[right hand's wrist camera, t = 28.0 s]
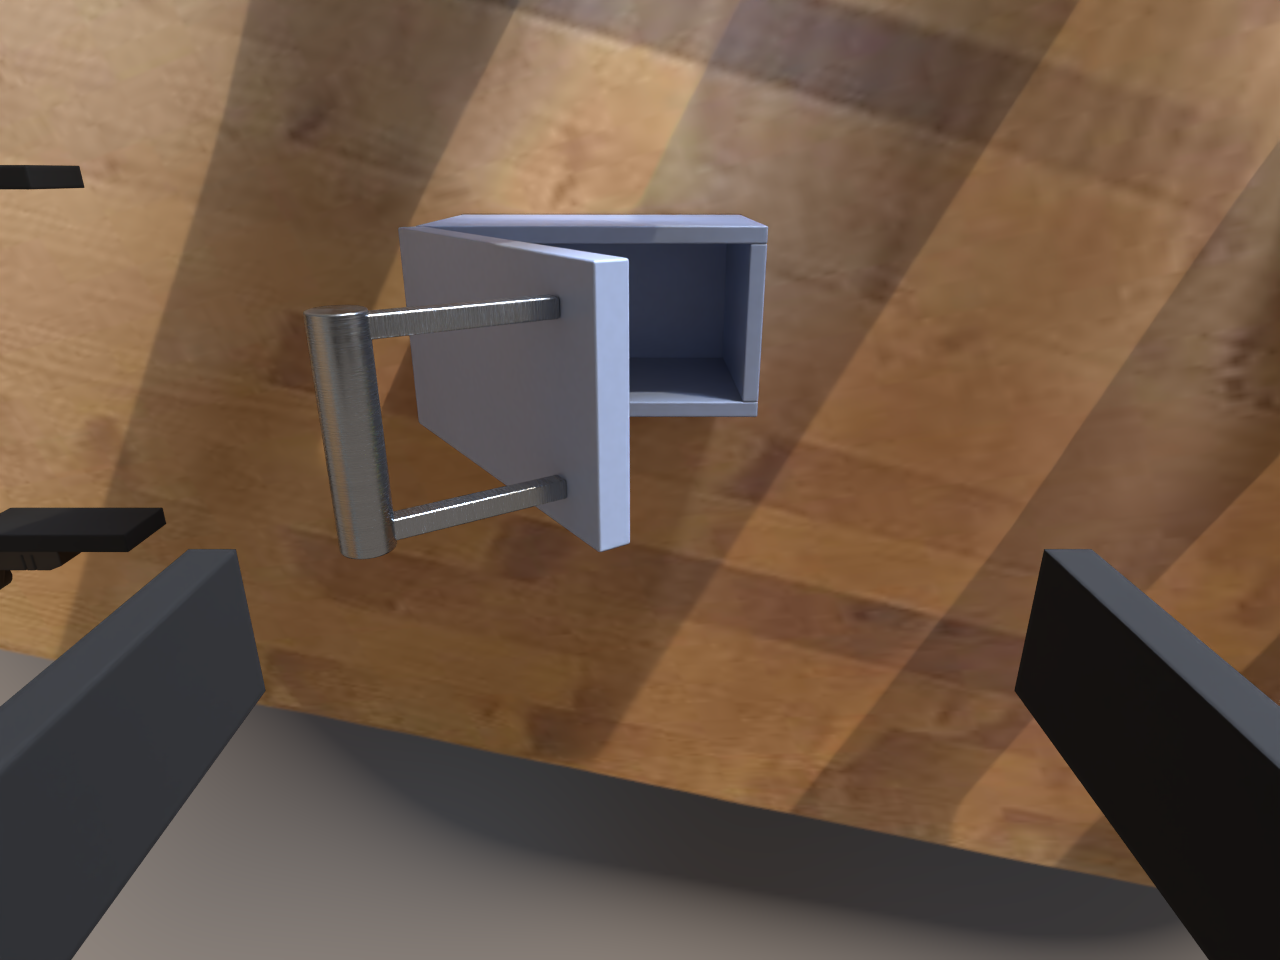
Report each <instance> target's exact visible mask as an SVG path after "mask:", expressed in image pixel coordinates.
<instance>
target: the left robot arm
mask: <svg viewBox="0 0 1280 960" xmlns="http://www.w3.org/2000/svg"><path fill="white" fill-rule="evenodd" d="M59 188H84V184H83V180H82V176H81V171H80V167H79V166H49V165H0V189H59ZM165 524H166V521H165V517H164V512H163V508H9V509H8V510H6V511H4V512H2V513H0V589H2V588H3V587H5V586H6V585H8V584H9V583H11V581H12V573H11V571H10V570H52V569H55V568H57V567H60V566H62V565H63V564H65V563H66V562H68V561H69V560H71V559H72V558H74V557H75V556H76V555H78V554H79V553H81V552H129V551H130V550H132V549H133V548H134V547H136V546H137V545H138V544H140V543H141V542H142V541H144V540H145V539H146V538H148V537H149V536H150V535H152V534H153V533H154V532H156V531H157V530H159V529H160V528H161V527H163V526H164V525H165Z"/></svg>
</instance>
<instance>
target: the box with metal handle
mask: <svg viewBox="0 0 1280 960" xmlns="http://www.w3.org/2000/svg"><path fill="white" fill-rule="evenodd" d="M398 232H399V241H400V250H401V260H402V269H403V278H404V288H405V297H406V306H407V307H403V308H392V309H381V310H370V311H368V309H367V308H366V307H363V306H357V305H332V306H321V307H315V308H310V309H307V310H305V311H304V312H303V316H304V323H305V329H306V336H307V342H308V349H309V355H310V361H311V368H312V374H313V381H314V387H315V394H316V400H317V406H318V413H319V419H320V426H321V432H322V439H323V445H324V452H325V458H326V464H327V471H328V477H329V484H330V490H331V497H332V503H333V510H334V516H335V522H336V529H337V535H338V542H339V548H340V552H341V554H342V555H343V556H345V557H348V558H352V559H370V558H375V557H379V556H382V555H385V554H387V553H389V552H390V551H392V550H393V549H394V548H395V547H396V544H397V540H400V539H404V538H408V537H412V536H416V535H420V534H424V533H428V532H432V531H436V530H440V529H444V528H448V527H452V526H456V525H460V524H464V523H468V522H472V521H477V520H481V519H485V518H489V517H493V516H497V515H501V514H505V513H509V512H513V511H517V510H521V509H525V508H529V507H533V506H536V507H537V508H538V509H540V510H541V511H543V512H544V513H545V514H547V515H548V516H549V517H551V518H552V519H554V520H555V521H556V522H558V523H559V524H561V525H562V526H563V527H565V528H566V529H568V530H569V531H570V532H572V533H573V534H574V535H576V536H577V537H579V538H580V539H581V540H583V541H584V542H586V543H587V544H588V545H590V546H591V547H593V548H594V549H595V550H597V551H598V552H603V551H606V550H610V549H613V548H616V547H620V546H623V545H627V544H629V543H630V446H629V261H628V259H627V258H623V257H617V256H610V255H604V254H597V253H591V252H585V251H578V250H572V249H565V248H559V247H552V246H546V245H539V244H533V243H527V242H520V241H514V240H507V239H501V238H494V237H488V236H481V235H475V234H468V233H462V232H456V231H449V230H443V229H436V228H430V227H423V226H420V227H400V228H399V229H398ZM408 335H410V344H411V353H412V362H413V372H414V381H415V390H416V400H417V409H418V419H419V423H420V424H422V425H423V426H424V427H426V428H427V429H429V430H430V431H431V432H433V433H434V434H436V435H437V436H438V437H440V438H441V439H442V440H444V441H445V442H447V443H448V444H449V445H451V446H452V447H454V448H455V449H456V450H458V451H459V452H461V453H462V454H463V455H465V456H466V457H467V458H469V459H470V460H472V461H473V462H474V463H476V464H477V465H479V466H480V467H481V468H483V469H484V470H486V471H487V472H488V473H490V474H491V475H492V476H494V477H495V478H497V479H498V480H499V481H501V482H502V483H504V484H505V485H506V486H504V487H499V488H495V489H491V490H486V491H482V492H477V493H473V494H469V495H464V496H460V497H455V498H451V499H447V500H442V501H438V502H433V503H429V504H425V505H420V506H416V507H411V508H407V509H403V510H398V511H394V512H393V506H392V498H391V490H390V482H389V474H388V466H387V458H386V450H385V442H384V434H383V426H382V418H381V410H380V402H379V394H378V386H377V378H376V370H375V362H374V354H373V346H372V339H380V338H390V337H399V336H408Z"/></svg>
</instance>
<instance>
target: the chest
mask: <svg viewBox="0 0 1280 960" xmlns="http://www.w3.org/2000/svg"><path fill="white" fill-rule="evenodd" d="M420 226H423V227H430V228H436V229H443V230H449V231H456V232H462V233H468V234H475V235H481V236H488V237H494V238H501V239H507V240H514V241H520V242H527V243H533V244H539V245H546V246H552V247H559V248H565V249H572V250H578V251H585V252H591V253H597V254H604V255H610V256H617V257H623V258H627V259H628V261H629V417H756V416H757V409H758V402H757V401H758V392H759V375H760V357H761V340H762V323H763V306H764V288H765V271H766V254H767V244H766V243H767V237H768V226H765V225H763V224H761V223H758V222H756V221H753V220H751V219H749V218H746V217H744V216H742V215H741V214H461V215H459V216H455V217H451V218H447V219H443V220H438V221H434V222H430V223H426V224H422V225H418V226H416V227H420Z"/></svg>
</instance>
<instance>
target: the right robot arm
mask: <svg viewBox="0 0 1280 960" xmlns="http://www.w3.org/2000/svg"><path fill="white" fill-rule="evenodd" d="M264 692H265V686H264V681H263V676H262V672H261V667H260V662H259V657H258V653H257V648H256V643H255V638H254V633H253V629H252V624H251V619H250V614H249V610H248V605H247V600H246V595H245V591H244V586H243V581H242V576H241V572H240V567H239V562H238V557H237V553H236V549H188V550H187V551H186V552H185V553H184V554H182V555H181V556H180V557H179V558H178V559H176V560H175V561H174V562H173V563H172V564H170V565H169V566H168V567H167V568H166V569H164V570H163V571H162V572H161V573H160V574H158V575H157V576H156V577H155V578H154V579H152V580H151V581H150V582H149V583H148V584H147V585H145V586H144V587H143V588H142V589H141V590H139V591H138V592H137V593H136V594H135V595H133V596H132V597H131V598H130V599H129V600H127V601H126V602H125V603H124V604H123V605H121V606H120V607H119V608H118V609H117V610H115V611H114V612H113V613H112V614H111V615H109V616H108V617H107V618H106V619H105V620H103V621H102V622H101V623H100V624H99V625H97V626H96V627H95V628H94V629H93V630H91V631H90V632H89V633H88V634H87V635H85V636H84V637H83V638H82V639H81V640H79V641H78V642H77V643H76V644H75V645H73V646H72V647H71V648H70V649H69V650H68V651H66V652H65V653H64V654H63V655H62V656H60V657H59V658H58V659H57V660H56V661H54V662H53V663H52V664H51V665H50V666H48V667H47V668H46V669H45V670H44V671H42V672H41V673H40V674H39V675H38V676H36V677H35V678H34V679H33V680H32V681H30V682H29V683H28V684H27V685H26V686H24V687H23V688H22V689H21V690H20V691H19V692H17V693H16V694H15V695H14V696H12V697H11V698H10V699H9V700H8V701H7V702H5V703H4V704H3V705H2V706H0V960H71V959H72V958H73V956H74V955H75V954H76V952H77V951H78V950H79V948H80V947H81V945H82V944H83V943H84V941H85V940H86V938H87V937H88V936H89V934H90V933H91V932H92V930H93V929H94V927H95V926H96V925H97V923H98V922H99V920H100V919H101V918H102V916H103V915H104V914H105V912H106V911H107V909H108V908H109V907H110V905H111V904H112V902H113V901H114V900H115V898H116V897H117V896H118V894H119V893H120V891H121V890H122V889H123V887H124V886H125V884H126V883H127V882H128V880H129V879H130V877H131V876H132V875H133V873H134V872H135V871H136V869H137V868H138V866H139V865H140V864H141V862H142V861H143V860H144V858H145V857H146V855H147V854H148V853H149V851H150V850H151V848H152V847H153V846H154V844H155V843H156V842H157V840H158V839H159V837H160V836H161V835H162V833H163V832H164V830H165V829H166V828H167V826H168V825H169V823H170V822H171V821H172V819H173V818H174V817H175V815H176V814H177V812H178V811H179V810H180V808H181V807H182V806H183V804H184V803H185V801H186V800H187V799H188V797H189V796H190V794H191V793H192V792H193V790H194V789H195V788H196V786H197V785H198V783H199V782H200V781H201V779H202V778H203V776H204V775H205V774H206V772H207V771H208V770H209V768H210V767H211V765H212V764H213V763H214V761H215V760H216V758H217V757H218V756H219V754H220V753H221V752H222V750H223V749H224V747H225V746H226V745H227V743H228V742H229V740H230V739H231V738H232V736H233V735H234V734H235V732H236V731H237V729H238V728H239V727H240V725H241V724H242V723H243V721H244V720H245V718H246V717H247V716H248V714H249V713H250V711H251V710H252V709H253V707H254V706H255V705H256V703H257V702H258V700H259V699H260V698H261V696H262V695H263V693H264ZM1015 692H1016V693H1017V695H1018V696H1019V698H1020V699H1021V700H1022V702H1023V703H1024V705H1025V706H1026V707H1027V709H1028V710H1029V711H1030V713H1031V714H1032V716H1033V717H1034V718H1035V720H1036V721H1037V723H1038V724H1039V725H1040V727H1041V728H1042V729H1043V731H1044V732H1045V734H1046V735H1047V736H1048V738H1049V739H1050V741H1051V742H1052V743H1053V745H1054V746H1055V747H1056V749H1057V750H1058V752H1059V753H1060V754H1061V756H1062V757H1063V759H1064V760H1065V761H1066V763H1067V764H1068V765H1069V767H1070V768H1071V770H1072V771H1073V772H1074V774H1075V775H1076V776H1077V778H1078V779H1079V781H1080V782H1081V783H1082V785H1083V786H1084V788H1085V789H1086V790H1087V792H1088V793H1089V794H1090V796H1091V797H1092V799H1093V800H1094V801H1095V803H1096V804H1097V806H1098V807H1099V808H1100V810H1101V811H1102V812H1103V814H1104V815H1105V817H1106V818H1107V819H1108V821H1109V822H1110V824H1111V825H1112V826H1113V828H1114V829H1115V830H1116V832H1117V833H1118V835H1119V836H1120V837H1121V839H1122V840H1123V842H1124V843H1125V844H1126V846H1127V847H1128V848H1129V850H1130V851H1131V853H1132V854H1133V855H1134V857H1135V858H1136V860H1137V861H1138V862H1139V864H1140V865H1141V866H1142V868H1143V869H1144V871H1145V872H1146V873H1147V875H1148V876H1149V878H1150V879H1151V880H1152V882H1153V883H1154V884H1155V886H1156V887H1157V889H1158V890H1159V891H1160V893H1161V894H1162V896H1163V897H1164V898H1165V900H1166V901H1167V902H1168V904H1169V905H1170V907H1171V908H1172V909H1173V911H1174V912H1175V913H1176V915H1177V916H1178V918H1179V919H1180V920H1181V922H1182V923H1183V925H1184V926H1185V927H1186V929H1187V930H1188V932H1189V933H1190V934H1191V936H1192V937H1193V938H1194V940H1195V941H1196V943H1197V944H1198V945H1199V947H1200V948H1201V950H1202V951H1203V952H1204V954H1205V955H1206V956H1207V958H1208V959H1209V960H1280V706H1278V705H1277V704H1276V703H1275V702H1274V701H1272V700H1271V699H1270V698H1269V697H1268V696H1266V695H1265V694H1264V693H1263V692H1262V691H1260V690H1259V689H1258V688H1257V687H1256V686H1254V685H1253V684H1252V683H1251V682H1250V681H1248V680H1247V679H1246V678H1245V677H1244V676H1242V675H1241V674H1240V673H1239V672H1238V671H1236V670H1235V669H1234V668H1233V667H1232V666H1230V665H1229V664H1228V663H1227V662H1226V661H1224V660H1223V659H1222V658H1221V657H1220V656H1218V655H1217V654H1216V653H1215V652H1214V651H1212V650H1211V649H1210V648H1209V647H1208V646H1207V645H1205V644H1204V643H1203V642H1202V641H1201V640H1199V639H1198V638H1197V637H1196V636H1195V635H1193V634H1192V633H1191V632H1190V631H1189V630H1187V629H1186V628H1185V627H1184V626H1183V625H1181V624H1180V623H1179V622H1178V621H1177V620H1175V619H1174V618H1173V617H1172V616H1171V615H1169V614H1168V613H1167V612H1166V611H1165V610H1163V609H1162V608H1161V607H1160V606H1159V605H1157V604H1156V603H1155V602H1154V601H1153V600H1151V599H1150V598H1149V597H1148V596H1147V595H1145V594H1144V593H1143V592H1142V591H1141V590H1139V589H1138V588H1137V587H1136V586H1135V585H1133V584H1132V583H1131V582H1130V581H1129V580H1128V579H1126V578H1125V577H1124V576H1123V575H1122V574H1120V573H1119V572H1118V571H1117V570H1116V569H1114V568H1113V567H1112V566H1111V565H1110V564H1108V563H1107V562H1106V561H1105V560H1104V559H1102V558H1101V557H1100V556H1099V555H1098V554H1096V553H1095V552H1094V551H1093V550H1092V549H1044V553H1043V557H1042V562H1041V567H1040V572H1039V576H1038V581H1037V586H1036V591H1035V595H1034V600H1033V605H1032V610H1031V614H1030V619H1029V624H1028V629H1027V633H1026V638H1025V643H1024V648H1023V652H1022V657H1021V662H1020V667H1019V672H1018V676H1017V681H1016V686H1015Z"/></svg>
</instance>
